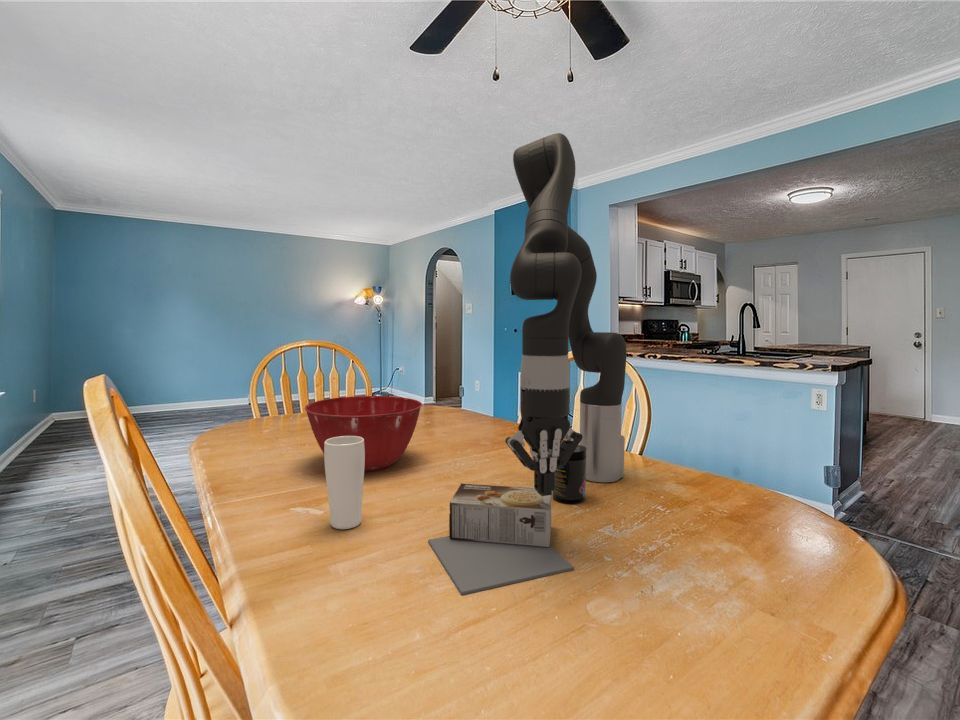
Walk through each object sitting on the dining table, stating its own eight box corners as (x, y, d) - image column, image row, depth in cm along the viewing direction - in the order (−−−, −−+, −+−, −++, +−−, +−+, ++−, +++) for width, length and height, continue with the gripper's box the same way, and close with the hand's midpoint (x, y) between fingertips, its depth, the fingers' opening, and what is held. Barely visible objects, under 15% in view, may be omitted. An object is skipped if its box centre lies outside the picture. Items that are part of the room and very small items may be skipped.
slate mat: (522, 525, 81) (522, 523, 81) (574, 569, 66) (574, 566, 66) (428, 542, 75) (428, 539, 75) (461, 595, 60) (461, 592, 60)
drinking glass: (373, 519, 84) (372, 437, 83) (351, 535, 77) (349, 446, 76) (341, 514, 86) (339, 434, 85) (317, 529, 80) (315, 443, 78)
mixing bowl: (445, 458, 122) (444, 400, 121) (363, 491, 98) (362, 418, 97) (368, 444, 137) (367, 392, 136) (281, 469, 113) (279, 406, 112)
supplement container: (579, 507, 89) (580, 453, 88) (546, 500, 93) (547, 449, 92) (590, 496, 95) (591, 446, 94) (558, 490, 98) (559, 441, 98)
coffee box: (551, 524, 81) (461, 517, 84) (552, 488, 80) (461, 482, 83) (549, 549, 72) (448, 539, 75) (550, 508, 71) (448, 500, 74)
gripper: (568, 379, 78) (567, 481, 79) (495, 383, 73) (495, 492, 74) (595, 385, 71) (593, 496, 72) (517, 389, 66) (517, 509, 67)
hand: (544, 494), depth 73 cm, fingers closed
